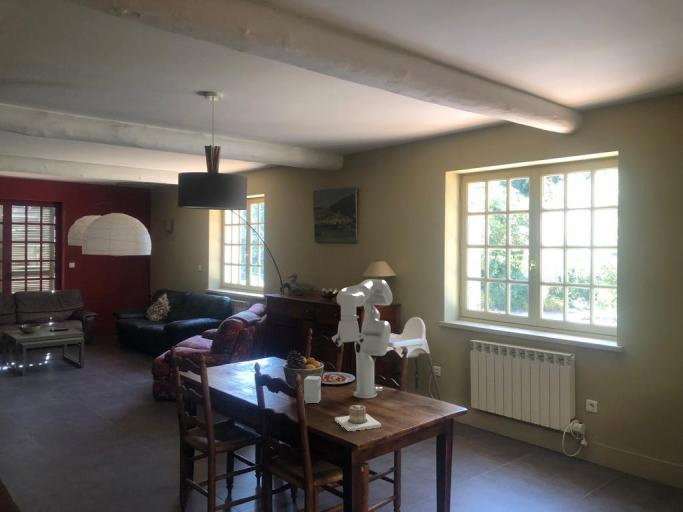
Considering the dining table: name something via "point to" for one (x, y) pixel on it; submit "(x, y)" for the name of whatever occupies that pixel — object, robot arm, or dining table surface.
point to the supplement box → (312, 389)
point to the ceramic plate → (337, 378)
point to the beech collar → (357, 414)
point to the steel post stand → (350, 426)
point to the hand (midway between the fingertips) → (348, 353)
